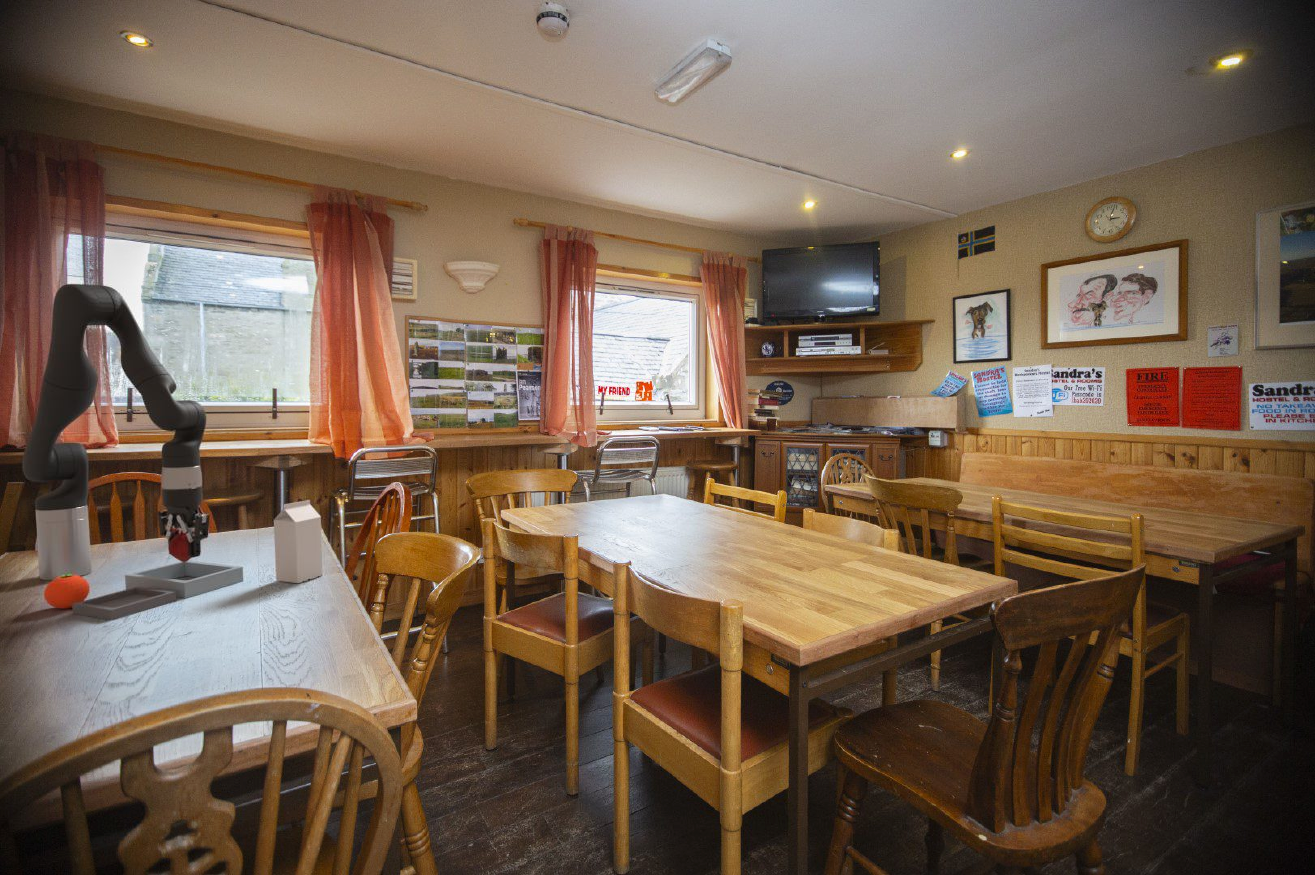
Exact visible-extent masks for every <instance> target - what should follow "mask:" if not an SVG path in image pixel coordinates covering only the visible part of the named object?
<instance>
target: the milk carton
mask: <svg viewBox="0 0 1315 875" xmlns="http://www.w3.org/2000/svg"><path fill="white" fill-rule="evenodd" d="M321 518H322V517H321V515H320V513H318V511H316V509H315V508H314V507H313V506H312V505H311V499H307V500H302V501H296V502H291V503H285V504H283V509H282V510H281V511H280V513H279V514H278V515H277V516H276V517H275V518H274V519H273V533H274V537H273V538H274V554H275V555H274V557H275V558H274V559H275V561H274V562H275V580H276V581H279V582H285V583H292V584H301V583H304V582H307V581H309V580H308V579H310V580H313V579H316V578H318V576H319V577H322V576H323V575H324V574H323V573H324V572H323V571H324V570H323V546H322V545H323V544H322V519H321ZM321 575H322V576H321ZM306 580H307V581H306ZM303 581H304V582H303Z"/></svg>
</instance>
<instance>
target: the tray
mask: <svg viewBox="0 0 1315 875" xmlns="http://www.w3.org/2000/svg"><path fill="white" fill-rule="evenodd" d="M173 602H177V597H176V592H173V591H165V590H158V589H151V588H144V587H135V588H131V589H127V590H126V589H124V590H120V591H117V592H113V593H109V594H104V595H101V596H96V597H94V598H90V599H85V600H84V601H81V602H78V603H74V604H72V607H71V608H72V614H74V615H80V616H85V617H90V618H91V617H93V618H98V619H103V620H109V621H110V620H111V621H113V620H116V619H120V618H123V617H126V616H127V617H128V616H130V615H133V614H137V613H140V612H143V611H147V610H150V609H153V608H157V607H159V606H163V605H167V604H170V603H173Z"/></svg>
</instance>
